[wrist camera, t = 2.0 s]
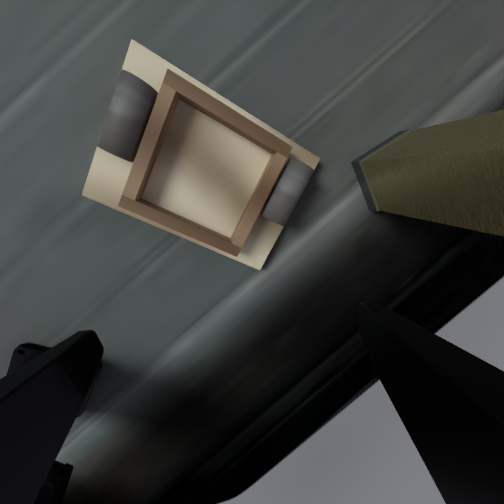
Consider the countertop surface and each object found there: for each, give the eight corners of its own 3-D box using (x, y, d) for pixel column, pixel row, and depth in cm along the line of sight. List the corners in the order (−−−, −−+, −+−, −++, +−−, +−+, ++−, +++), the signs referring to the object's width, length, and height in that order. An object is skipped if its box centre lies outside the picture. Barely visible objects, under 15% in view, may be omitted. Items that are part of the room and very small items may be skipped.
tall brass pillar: (369, 210, 20) (604, 261, 8) (351, 162, 19) (611, 136, 7) (414, 182, 20) (722, 192, 8) (400, 131, 19) (759, 46, 6)
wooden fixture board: (258, 266, 20) (265, 280, 18) (87, 194, 16) (63, 197, 14) (315, 159, 18) (333, 156, 16) (135, 46, 14) (118, 16, 12)
